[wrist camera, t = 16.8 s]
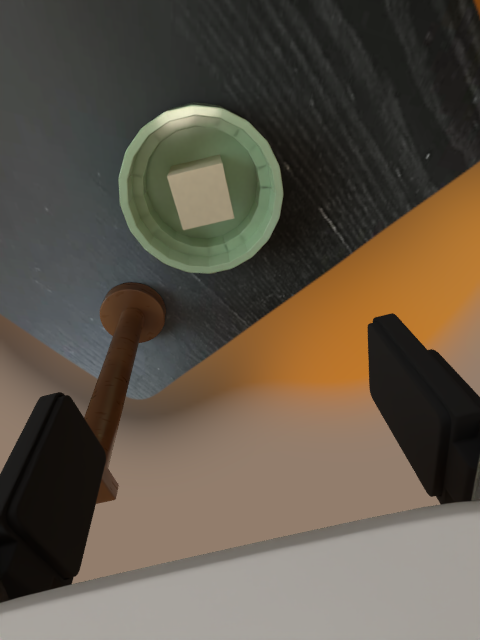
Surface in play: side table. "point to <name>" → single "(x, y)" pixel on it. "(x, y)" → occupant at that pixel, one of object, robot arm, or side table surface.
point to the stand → (120, 363)
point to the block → (200, 192)
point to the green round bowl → (241, 175)
